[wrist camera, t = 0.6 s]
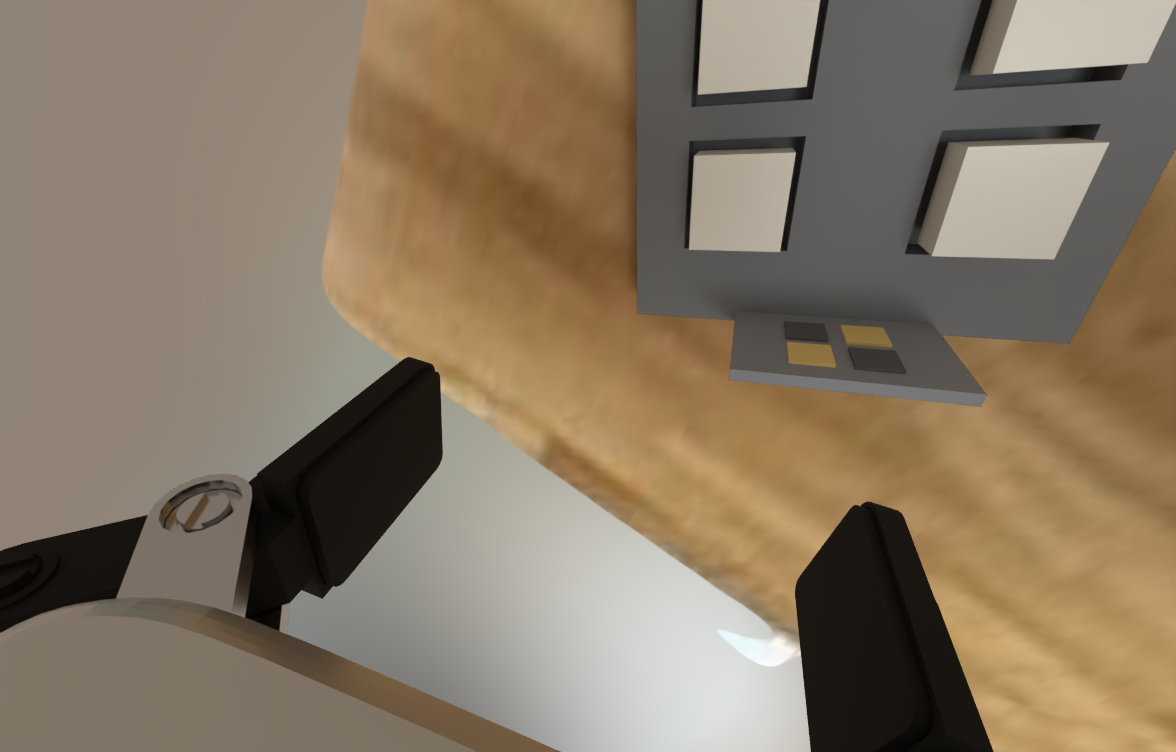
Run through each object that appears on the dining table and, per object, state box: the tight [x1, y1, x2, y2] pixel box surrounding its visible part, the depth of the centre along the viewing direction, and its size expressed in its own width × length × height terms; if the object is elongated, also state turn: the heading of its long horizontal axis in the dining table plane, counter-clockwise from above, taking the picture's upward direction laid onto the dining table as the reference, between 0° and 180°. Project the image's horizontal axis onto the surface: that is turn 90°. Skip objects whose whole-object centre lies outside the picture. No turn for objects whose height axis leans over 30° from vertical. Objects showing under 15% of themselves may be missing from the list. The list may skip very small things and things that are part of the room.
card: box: [729, 311, 987, 407], centre depth 23 cm, size 10×1×7 cm, turn 94°
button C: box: [917, 138, 1110, 260], centre depth 20 cm, size 4×4×2 cm
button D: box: [689, 148, 796, 252], centre depth 23 cm, size 4×4×2 cm
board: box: [636, 0, 1176, 344], centre depth 22 cm, size 22×18×3 cm
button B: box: [698, 0, 820, 95], centre depth 20 cm, size 4×4×2 cm
